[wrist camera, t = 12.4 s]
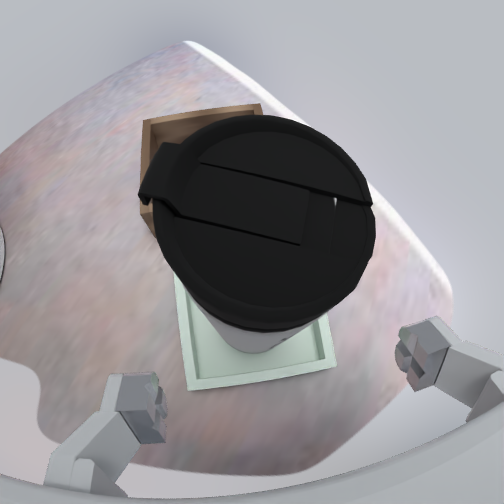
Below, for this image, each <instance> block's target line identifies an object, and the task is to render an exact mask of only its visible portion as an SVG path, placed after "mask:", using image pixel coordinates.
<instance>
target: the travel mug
mask: <svg viewBox="0 0 504 504" xmlns="http://www.w3.org/2000/svg"><path fill="white" fill-rule="evenodd" d="M138 196H139V198H140V200H141V202H142V204H143V205H146V206H148V205H149V203H150V200H151V198H152V211H153V223H154V230H155V236H156V238H157V241H158V243H159V246H160V248H161V251H162V253H163V256H164V258H165V259H166V261H167V262H168V264H169V265H170V267H171V268H172V270H173V271H174V273H175V274H176V275H177V277H178V278H179V280H180V281H181V282H182V285H183V287H184V289H185V290H186V292H187V293H188V294H189V296H190V297H191V299H192V300H193V302H194V303H195V304H196V305H197V307H198V308H199V309H200V311H201V312H202V313H203V314H204V316H205V317H206V318H207V319H208V321H209V322H210V323H211V324H212V326H213V327H214V328H215V329H216V331H217V332H218V333H219V334H220V335H221V337H222V338H223V339H224V340H225V341H226V342H227V343H228V344H229V345H230V346H231V347H233V348H235V349H236V350H238V351H241V352H244V353H251V354H254V353H262V352H266V351H269V350H271V349H273V348H274V347H276V346H278V345H279V344H281V343H283V342H284V341H286V340H287V339H289V338H291V337H292V336H294V335H295V334H297V333H298V332H300V331H302V330H303V329H305V328H306V327H308V326H309V325H311V324H312V323H314V322H315V321H317V320H319V319H320V318H321V317H322V316H323V315H325V314H326V313H327V312H328V311H329V310H331V309H332V308H333V307H334V306H335V305H337V304H338V303H340V302H341V301H342V300H343V299H344V298H345V297H347V296H348V295H349V294H350V293H351V292H352V291H353V290H354V289H355V288H356V286H357V284H358V282H359V280H360V278H361V276H362V274H363V272H364V270H365V268H366V266H367V264H368V261H369V260H370V258H371V257H372V254H373V249H374V244H375V238H376V228H375V216H374V214H373V212H372V209H371V206H372V205H373V202H372V198H371V195H370V191H369V188H368V185H367V181H366V178H365V177H364V175H363V174H362V172H361V171H360V169H359V168H358V166H357V165H356V163H355V162H354V161H353V160H352V159H351V158H350V157H349V155H348V154H347V153H346V152H345V151H344V150H343V149H342V148H341V147H340V146H338V145H337V144H336V143H335V142H333V141H332V140H331V139H329V138H328V137H327V136H325V135H323V134H322V133H320V132H318V131H316V130H315V129H313V128H311V127H309V126H307V125H304V124H301V123H299V122H296V121H293V120H290V119H286V118H281V117H277V116H271V115H254V114H253V115H242V116H234V117H230V118H226V119H223V120H219V121H215V122H213V123H211V124H209V125H207V126H205V127H203V128H201V129H199V130H197V131H196V132H194V133H193V134H192V135H190V136H189V137H188V138H186V139H185V140H184V141H183V142H182V143H181V144H176V143H169V142H163V143H162V144H161V145H160V147H159V149H158V151H157V152H156V153H155V155H154V157H153V159H152V161H151V163H150V165H149V167H148V169H147V171H146V173H145V176H144V178H143V180H142V183H141V185H140V189H139V192H138Z"/></svg>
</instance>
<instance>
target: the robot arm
mask: <svg viewBox="0 0 504 504" xmlns="http://www.w3.org/2000/svg"><path fill="white" fill-rule="evenodd" d="M3 264H4V238H3V233H2V230H1V228H0V279H1V275H2V270H3ZM398 336H399V338H400V339H401V340H400V341H399V343H398V344H397V345H396V349H395V360H396V363H397V365H398V367H399V369H400V370H401V371H403V372H405V373H407V378H406V379H407V381H408V382H409V384H410V385H411V387H412V389H413V390H414V391H415V392H416V391H419V390H421V389H424V388H427V387H429V386H432V385H434V386H435V387H437V388H439V389H440V390H442V391H443V392H445V393H447V394H449V395H450V396H452V397H454V398H455V399H457V400H459V401H460V402H462V403H464V404H465V405H467V406H469V407H470V408H472V410H471V412H470V413H469V415H468V416H467V419H466V422H467V423H466V424H464V425H462V426H460V427H458V428H456V429H455V430H453V431H450V432H449V433H447V434H444V435H443V436H440V437H438V438H436V439H434V440H432V441H430V442H428V443H425V444H423V445H421V446H419V447H416V448H414V449H411V450H409V451H407V452H404V453H402V454H399V455H397V456H394V457H391V458H389V459H386V460H384V461H380V462H378V463H375V464H372V465H369V466H366V467H363V468H360V469H357V470H353V471H350V472H347V473H343V474H340V475H336V476H333V477H329V478H325V479H321V480H317V481H313V482H309V483H305V484H300V485H295V486H290V487H285V488H280V489H274V490H268V491H262V492H255V493H247V494H240V495H231V496H220V497H206V498H184V499H150V498H128V497H127V494H126V493H125V492H124V491H123V490H122V489H121V488H120V487H119V486H117V485H116V484H115V482H116V480H117V479H118V477H119V476H120V475H121V473H122V472H123V470H124V469H125V468H126V466H127V465H128V463H129V462H130V461H131V459H132V458H133V456H134V455H135V453H136V452H137V451H138V449H139V448H140V446H141V444H152V443H166V427H167V426H166V424H165V423H164V421H163V420H164V419H165V418H166V416H167V400H166V396H165V393H164V391H163V389H162V388H161V387H159V386H158V382H159V379H158V377H157V375H156V373H155V372H142V373H125V374H110V376H109V377H108V380H107V383H106V387H105V391H104V395H103V398H102V402H101V406H100V410H99V412H94V413H93V414H92V415H91V416H90V417H89V418H88V419H87V420H86V421H85V422H84V423H83V424H82V425H81V426H80V427H79V428H78V429H77V430H75V431H74V432H73V433H72V434H71V435H70V436H69V437H68V438H67V439H66V440H65V441H64V442H63V443H62V444H61V445H60V446H59V447H58V448H57V449H56V450H55V451H53V452H52V453H51V457H50V460H49V464H48V468H47V472H46V476H45V480H44V484H43V485H39V484H35V483H31V482H27V481H23V480H20V479H16V478H12V477H9V476H6V475H2V474H0V504H504V355H502V354H500V353H497V352H495V351H492V350H490V349H487V348H484V347H482V346H479V345H476V344H474V343H471V342H468V341H462V340H461V339H460V338H459V337H458V336H457V335H456V334H455V333H454V332H453V330H452V329H451V328H450V327H449V326H448V325H447V324H446V323H445V322H444V321H443V320H442V319H441V318H440V317H438V316H435V317H432V318H428V319H426V320H422V321H419V322H416V323H413V324H409V325H406V326H403V327H401V329H400V331H399V335H398Z"/></svg>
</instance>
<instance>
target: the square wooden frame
mask: <svg viewBox="0 0 504 504" xmlns="http://www.w3.org/2000/svg"><path fill="white" fill-rule="evenodd" d="M253 114H254V115H263V112H262V108H261V105H260V104H249V105H239V106H229V107H221V108H213V109H206V110H199V111H192V112H185V113H179V114H173V115H168V116H162V117H157V118H152V119H147V120H143V130H142V148H141V173H140V185H141V183H142V180H143V178H144V176H145V173H146V171H147V169H148V167H149V165H150V163H151V161H152V159H153V157H154V155H155V153H156V152H157V151H158V149H159V147H160V145H161V144H162V143H163V142H169V143H176V144H181V143H182V142H183V141H184V140H185V139H186V138H188V137H189V136H190V135H192V134H193V133H194V132H196V131H197V130H199V129H201V128H203V127H205V126H207V125H209V124H211V123H213V122H215V121H219V120H223V119H226V118H230V117H234V116H242V115H253ZM140 215H141V216H142V218H143V219H144V221H145V223H146V224H147V226H148V227H149V229H150V230H151V232H152V233H153V235H154V237H155V238H156V236H155V230H154V223H153V211H152V198H151V200H150V203H149V205H148V206H146V205H143V204H142V202H141V200H140Z"/></svg>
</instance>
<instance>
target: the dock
mask: <svg viewBox="0 0 504 504" xmlns="http://www.w3.org/2000/svg"><path fill="white" fill-rule="evenodd" d="M174 283H175V293H176V303H177V313H178V322H179V330H180V338H181V346H182V354H183V361H184V368H185V375H186V382H187V389H188V391H191V390H201V389H210V388H219V387H226V386H234V385H241V384H248V383H254V382H261V381H267V380H273V379H278V378H284V377H289V376H294V375H300V374H305V373H309V372H314V371H319V370H323V369H328V368H332V367H336V366H337V364H336V358H335V353H334V348H333V342H332V337H331V332H330V327H329V322H328V317H327V313H326V314H325V315H323V316H322V317H321V318H320V319H319V320H317V321H315V322H314V323H312V324H311V325H309V326H308V327H306V328H305V329H303V330H302V331H300V332H298V333H297V334H295V335H294V336H292V337H291V338H289V339H287V340H286V341H284V342H283V343H281V344H279V345H278V346H276V347H274V348H273V349H271V350H269V351H266V352H262V353H254V354H251V353H244V352H241V351H238V350H236V349H235V348H233V347H231V346H230V345H229V344H228V343H227V342H226V341H225V340H224V339H223V338H222V337H221V335H220V334H219V333H218V332H217V331H216V329H215V328H214V327H213V326H212V324H211V323H210V322H209V321H208V319H207V318H206V317H205V316H204V314H203V313H202V312H201V311H200V309H199V308H198V307H197V305H196V304H195V303H194V302H193V300H192V299H191V297H190V296H189V294H188V293H187V292H186V290H185V289H184V287H183V285H182V282H181V281H180V280H179V278H178V277H177V275H176V274H175V273H174Z"/></svg>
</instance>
